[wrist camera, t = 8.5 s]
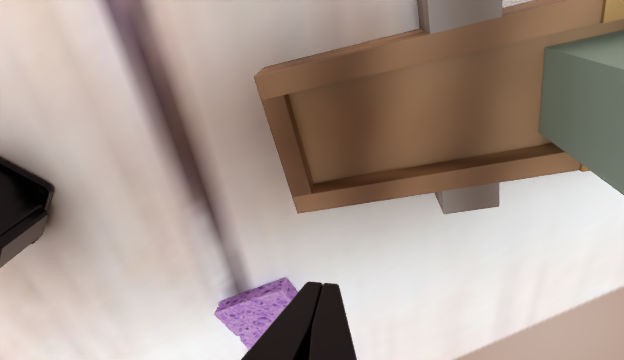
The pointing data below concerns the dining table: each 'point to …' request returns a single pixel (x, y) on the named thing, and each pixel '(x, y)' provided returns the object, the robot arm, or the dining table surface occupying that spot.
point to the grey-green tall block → (587, 103)
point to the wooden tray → (427, 105)
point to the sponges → (255, 310)
